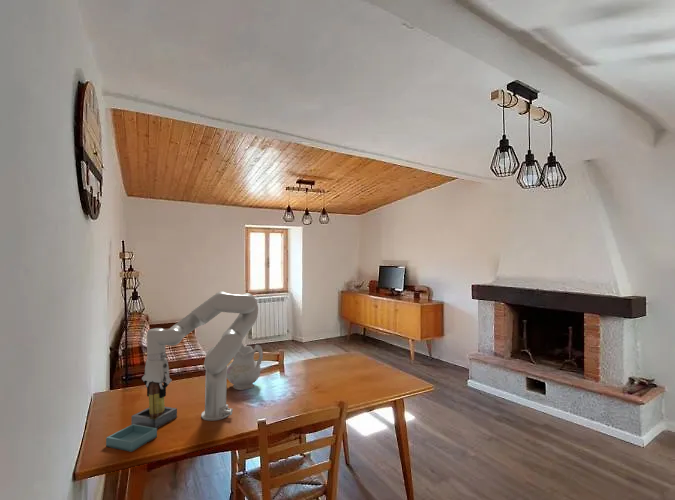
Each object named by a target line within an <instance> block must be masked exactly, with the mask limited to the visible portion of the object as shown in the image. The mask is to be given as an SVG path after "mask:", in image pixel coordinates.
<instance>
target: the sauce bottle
mask: <svg viewBox="0 0 675 500" xmlns="http://www.w3.org/2000/svg"><path fill="white" fill-rule="evenodd" d="M160 389H161V388H160V385H159V383H156V382H153V381H152V382H151V383H150V385H149V397H148V408H149V413H150V417H152V418H156V417H158V416H160V415H162V414H164V410H165V407H166V406H165V397H163V398H160V396H159V390H160Z"/></svg>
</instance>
